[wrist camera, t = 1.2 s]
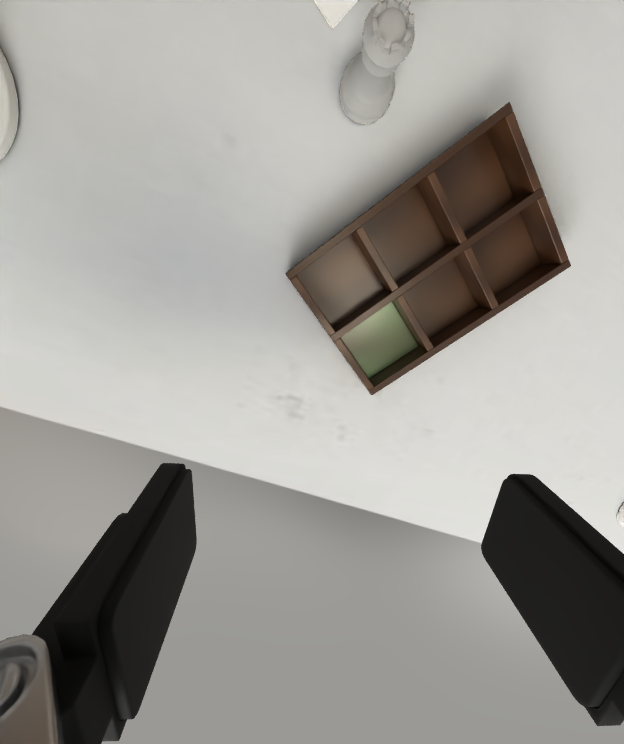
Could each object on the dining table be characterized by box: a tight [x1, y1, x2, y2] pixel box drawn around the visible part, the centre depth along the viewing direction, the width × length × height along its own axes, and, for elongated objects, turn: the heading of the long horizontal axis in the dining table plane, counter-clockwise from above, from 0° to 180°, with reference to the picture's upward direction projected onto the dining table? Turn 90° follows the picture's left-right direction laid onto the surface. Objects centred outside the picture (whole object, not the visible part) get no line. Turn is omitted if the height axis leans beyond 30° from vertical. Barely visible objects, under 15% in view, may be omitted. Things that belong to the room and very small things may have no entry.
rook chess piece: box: [339, 0, 415, 125], centre depth 22 cm, size 4×4×8 cm
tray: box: [286, 102, 571, 395], centre depth 29 cm, size 15×22×3 cm
